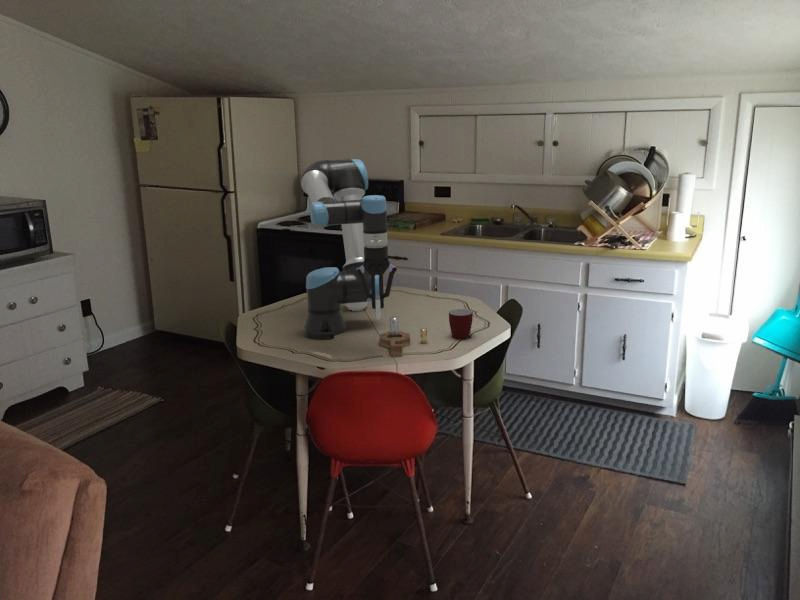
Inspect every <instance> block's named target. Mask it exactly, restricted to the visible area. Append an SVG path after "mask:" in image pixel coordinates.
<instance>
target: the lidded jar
mask: <svg viewBox="0 0 800 600" xmlns="http://www.w3.org/2000/svg"><path fill="white" fill-rule="evenodd" d="M368 303H369V301H368V302H358V303H347V304H344V306H345V307H346V308H347V309H348V311H350V310H352V311H351V312H360V311H359V310H361V311H363V310H365V308H366V307H367V305H368Z"/></svg>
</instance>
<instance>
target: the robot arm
mask: <svg viewBox="0 0 800 600" xmlns="http://www.w3.org/2000/svg"><path fill="white" fill-rule="evenodd" d="M300 187H301V189H302V191H303V192H304V193H305V194H306V195H308V198H309V200H310V206H309V214H310V215H309V216H310V217H309V218H310V221H311V222H310V223H311V224H312V225H313V226H316V227H317V226H318V227H319V226H321V227H327V226H338V225H341V232H342V239H343V246H344V247H343V248H344V253H345V255H344V256H345V264H344V265H342V271H340V270H339V268H338V267H334V266H333V267H329V266H328V267H322V268H319V269H314V270H312V271H310V272H309V273H308V274H307V275H306V279H305V281H306V282H305V289H306V299H307V315H306V316H307V317H306V320H305V325H304V329H303V330H304V331H303V332H304V336H305V337H306V336H307V338H308V337H309V339H313V340H331V339H335V336H338V335H342V334H343V333H345V332H346V331H347V325H346V323H345V320H344V317H343V314H342V309H341V305H343V304H344V305H345V304H347V303H358V302H368V303H369V302H371V309H373V310H375V320H381V319H382V314H381V309H384V307H385V300H384V299H386V298H388V297H390V294H391V289H392V285H393V280H394V275H395V273H396V272H397V270H398V269H397V266H396V265H393V264H391V262H390V261H389V248H388V246H387V245H388V218H387V217H388V215H387V214H388V212H387V211H388V210H387V209H388V206H387V200H386V196H384V195H379V194H378V195H377V194H374V195H365V194H366V191H367V190H368V189H369V176H368V172H367V168H366V165H365V164H364V162H363V161H362V160H361V159H360V158H359V159H357V158H353V159H352V158H346V159H345V158H344V159H329V160H328V159H322V160H317V161H315V162H313V163H311V164H309V165H308V166H307V167H306V168H304V170H303V171H302V173H301V175H300ZM364 195H365V196H364ZM387 270H388V272H389V273H388V277H387V282H386V287H385V292H384V274H385V273H386V272H387Z"/></svg>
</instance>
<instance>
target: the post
mask: <svg viewBox="0 0 800 600" xmlns="http://www.w3.org/2000/svg"><path fill="white" fill-rule="evenodd" d="M399 318H400V317H399V316H390V317H389V332H390V338H398V337H399V331H400V319H399Z"/></svg>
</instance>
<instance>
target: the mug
mask: <svg viewBox="0 0 800 600" xmlns="http://www.w3.org/2000/svg"><path fill="white" fill-rule="evenodd" d="M473 315H474V314H473V311H472V310H470V309H466V308H456V309H455V308H454V309H451V310H450V311H449V312H448V323H449V327H450V329H449V330H450V333H451V335H452V337H453V338H454V339H456V340H465V339H468V338H469V336H470V334H471V330H472V324H473V319H474V318H473Z"/></svg>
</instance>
